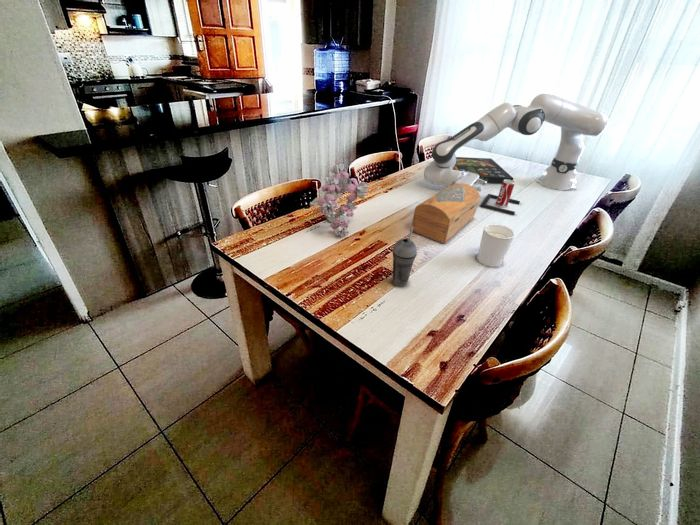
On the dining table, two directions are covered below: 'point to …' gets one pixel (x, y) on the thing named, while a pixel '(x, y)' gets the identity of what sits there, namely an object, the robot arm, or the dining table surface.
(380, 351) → the dining table surface
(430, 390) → the dining table surface
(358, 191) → the pink flower bunch
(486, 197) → the bay
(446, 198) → the wooden box
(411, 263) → the beverage cup
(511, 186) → the soda can
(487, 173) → the pizza box
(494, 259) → the candle holder
